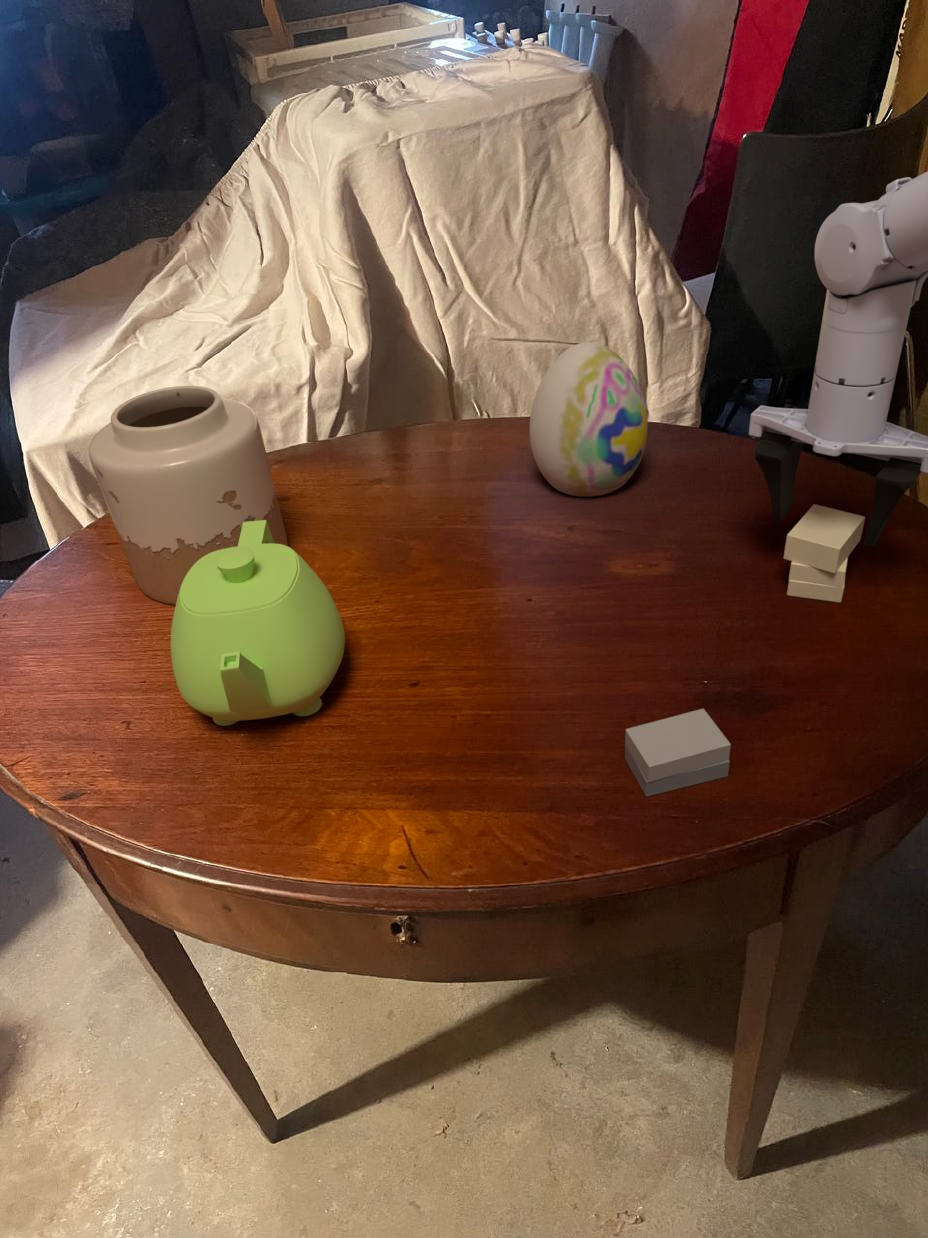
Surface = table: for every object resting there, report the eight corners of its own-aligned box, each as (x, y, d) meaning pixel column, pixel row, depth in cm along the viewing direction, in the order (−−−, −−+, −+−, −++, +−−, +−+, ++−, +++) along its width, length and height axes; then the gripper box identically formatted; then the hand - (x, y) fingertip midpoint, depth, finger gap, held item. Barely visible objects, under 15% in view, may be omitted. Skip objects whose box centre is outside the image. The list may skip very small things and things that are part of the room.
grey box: (702, 738, 63) (705, 707, 61) (728, 777, 60) (733, 746, 58) (623, 757, 62) (624, 726, 60) (645, 798, 59) (647, 767, 57)
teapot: (349, 764, 64) (317, 627, 56) (166, 786, 64) (109, 652, 56) (354, 606, 80) (329, 483, 72) (208, 623, 80) (168, 501, 72)
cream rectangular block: (809, 527, 78) (813, 503, 77) (860, 540, 76) (865, 516, 74) (783, 558, 75) (786, 534, 73) (835, 573, 72) (840, 549, 71)
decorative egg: (592, 519, 89) (593, 377, 80) (508, 483, 96) (500, 349, 87) (668, 475, 95) (676, 338, 86) (583, 444, 102) (583, 315, 94)
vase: (113, 563, 90) (54, 410, 80) (246, 508, 97) (207, 361, 87) (173, 628, 80) (114, 461, 70) (317, 561, 87) (282, 401, 77)
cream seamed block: (792, 558, 80) (797, 528, 78) (845, 565, 79) (851, 534, 77) (785, 595, 76) (790, 564, 74) (841, 603, 74) (848, 572, 72)
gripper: (740, 374, 67) (724, 526, 75) (942, 409, 60) (900, 575, 68) (777, 344, 72) (758, 492, 80) (970, 374, 64) (928, 534, 72)
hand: (825, 527), depth 74 cm, fingers open, 7 cm apart
